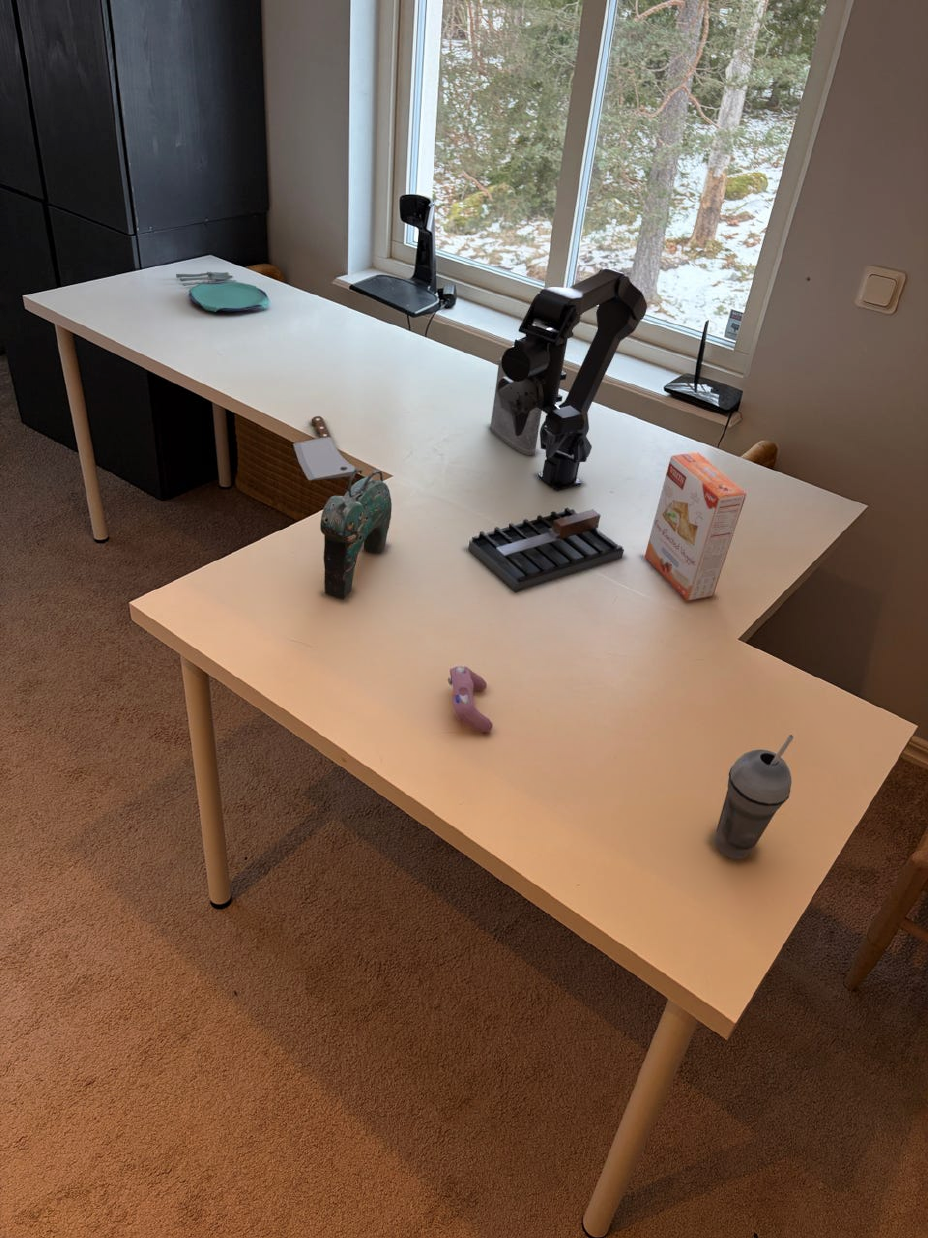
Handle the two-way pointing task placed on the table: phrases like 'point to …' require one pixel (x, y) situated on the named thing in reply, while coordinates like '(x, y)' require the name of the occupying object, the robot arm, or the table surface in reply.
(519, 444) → the flask
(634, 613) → the table surface
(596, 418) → the table surface
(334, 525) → the elephant figurine
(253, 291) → the cutlery set
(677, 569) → the cracker box
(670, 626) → the table surface
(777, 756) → the beverage cup
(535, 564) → the dish rack
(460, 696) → the video game controller
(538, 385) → the robot arm
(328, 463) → the kitchen cleaver
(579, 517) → the knife
